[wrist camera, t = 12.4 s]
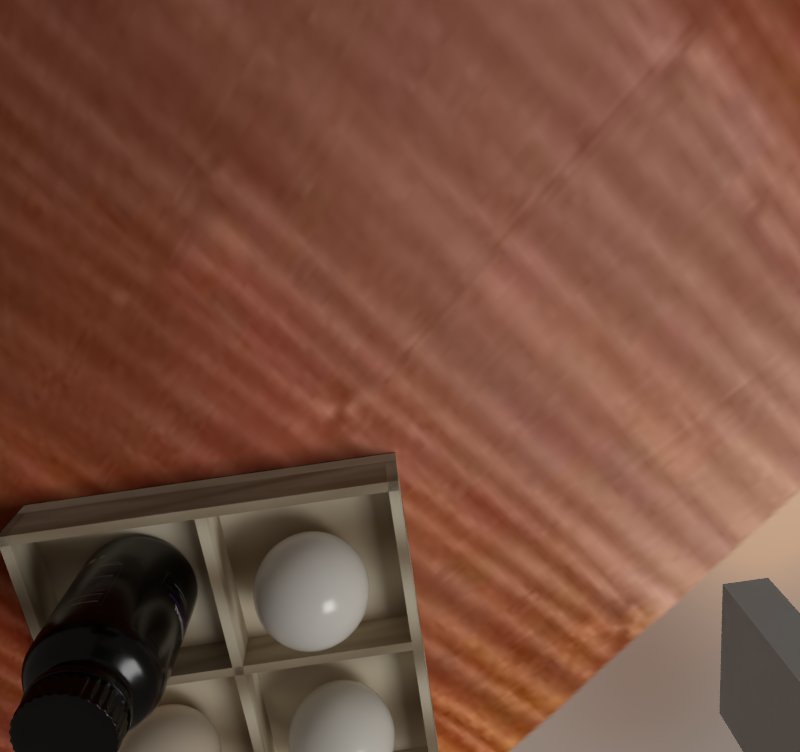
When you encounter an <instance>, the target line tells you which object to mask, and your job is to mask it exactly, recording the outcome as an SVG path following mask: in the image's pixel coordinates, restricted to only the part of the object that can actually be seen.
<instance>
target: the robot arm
mask: <svg viewBox="0 0 800 752" xmlns="http://www.w3.org/2000/svg"><path fill="white" fill-rule="evenodd" d="M722 600H723V601H722V641H721V681H720V714H721V715H722V717H723V719H724V721H725V722H726V724H727V726H728V727H729V729H730V730H731V732H732V734H733V735H734V737H735V739H736V740H737V742H738V744H739V745H740V747H741V748H742V750H743V752H800V613H799V612H798V611H797V610H796V609H795V607H794V606H793V605H792V604H791V603H790V602H789V601H788V600H787V598H786V597H785V596H784V595H783V594H782V593H781V592H780V591H779V590H778V589H777V587H776V586H775V585H774V584H773V583H772V582H771V581H770V580H769V578H764V579H757V580H750V581H743V582H736V583H728V584H723V599H722Z"/></svg>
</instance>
